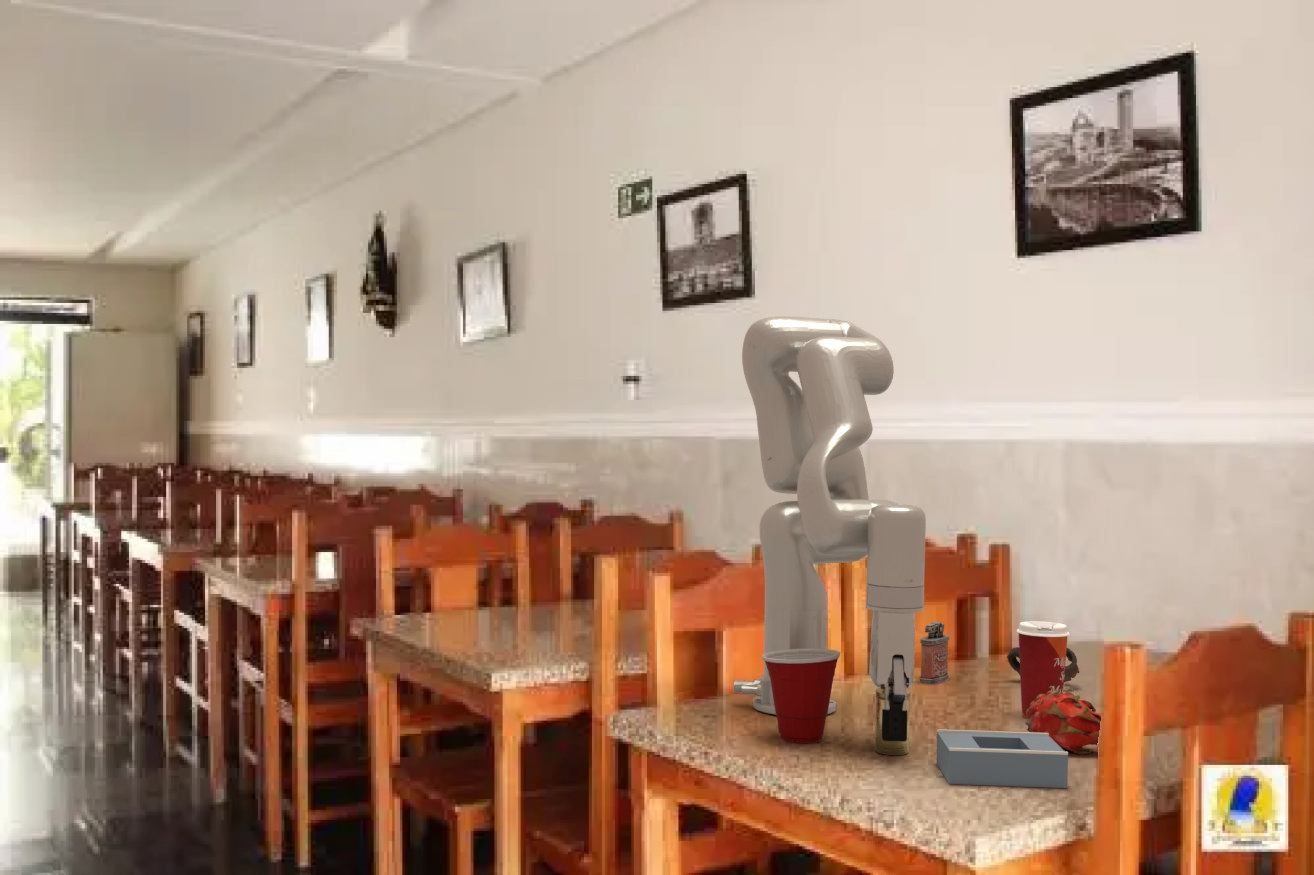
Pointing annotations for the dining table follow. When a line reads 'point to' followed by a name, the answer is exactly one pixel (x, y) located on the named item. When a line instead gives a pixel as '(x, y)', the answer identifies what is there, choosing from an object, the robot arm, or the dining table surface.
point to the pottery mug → (1069, 670)
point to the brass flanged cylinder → (880, 744)
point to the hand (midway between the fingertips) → (891, 734)
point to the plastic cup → (801, 691)
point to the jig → (1001, 758)
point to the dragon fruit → (1065, 720)
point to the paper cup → (1041, 659)
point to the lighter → (934, 654)
